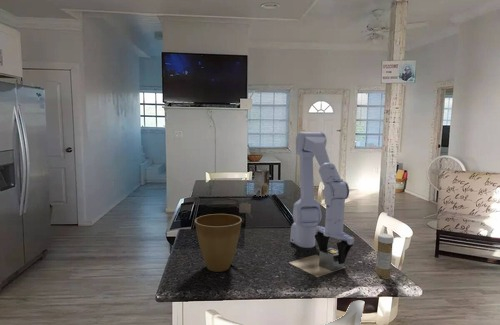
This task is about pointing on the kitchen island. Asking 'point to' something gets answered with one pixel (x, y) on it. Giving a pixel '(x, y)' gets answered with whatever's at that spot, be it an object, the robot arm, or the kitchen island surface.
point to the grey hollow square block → (329, 260)
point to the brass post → (332, 252)
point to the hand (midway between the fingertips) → (332, 259)
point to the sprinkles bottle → (384, 255)
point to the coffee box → (261, 182)
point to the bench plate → (311, 266)
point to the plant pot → (218, 239)
